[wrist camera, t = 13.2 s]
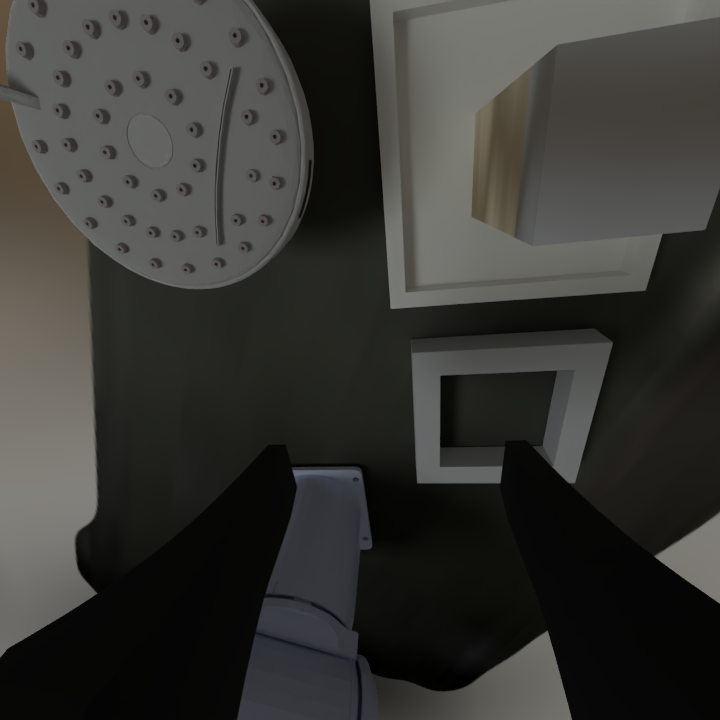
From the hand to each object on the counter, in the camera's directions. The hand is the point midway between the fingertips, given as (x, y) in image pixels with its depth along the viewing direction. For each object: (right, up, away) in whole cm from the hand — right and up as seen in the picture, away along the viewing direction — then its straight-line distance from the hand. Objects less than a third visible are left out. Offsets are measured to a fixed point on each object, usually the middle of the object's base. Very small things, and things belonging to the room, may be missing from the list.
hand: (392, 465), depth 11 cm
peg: (+6, +12, +3) cm, 14 cm away
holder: (+7, +1, +10) cm, 13 cm away
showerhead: (-7, +13, +5) cm, 16 cm away
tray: (+6, +12, +4) cm, 14 cm away
